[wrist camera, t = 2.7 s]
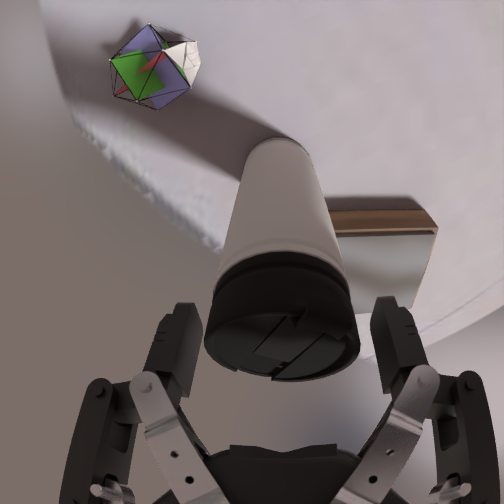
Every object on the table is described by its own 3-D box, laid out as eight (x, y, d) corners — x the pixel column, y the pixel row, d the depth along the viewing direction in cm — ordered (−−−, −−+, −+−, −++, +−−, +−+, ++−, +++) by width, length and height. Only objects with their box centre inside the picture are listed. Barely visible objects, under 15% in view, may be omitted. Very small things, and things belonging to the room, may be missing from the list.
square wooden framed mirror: (321, 211, 28) (327, 233, 25) (425, 210, 27) (440, 230, 24) (317, 294, 36) (320, 318, 32) (403, 288, 34) (412, 311, 31)
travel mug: (325, 151, 24) (403, 337, 9) (293, 207, 28) (307, 407, 13) (263, 122, 23) (236, 284, 8) (235, 183, 27) (183, 379, 11)
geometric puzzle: (131, 131, 22) (141, 116, 15) (94, 75, 19) (92, 40, 12) (195, 90, 24) (230, 67, 17) (160, 37, 20) (184, -2, 13)
